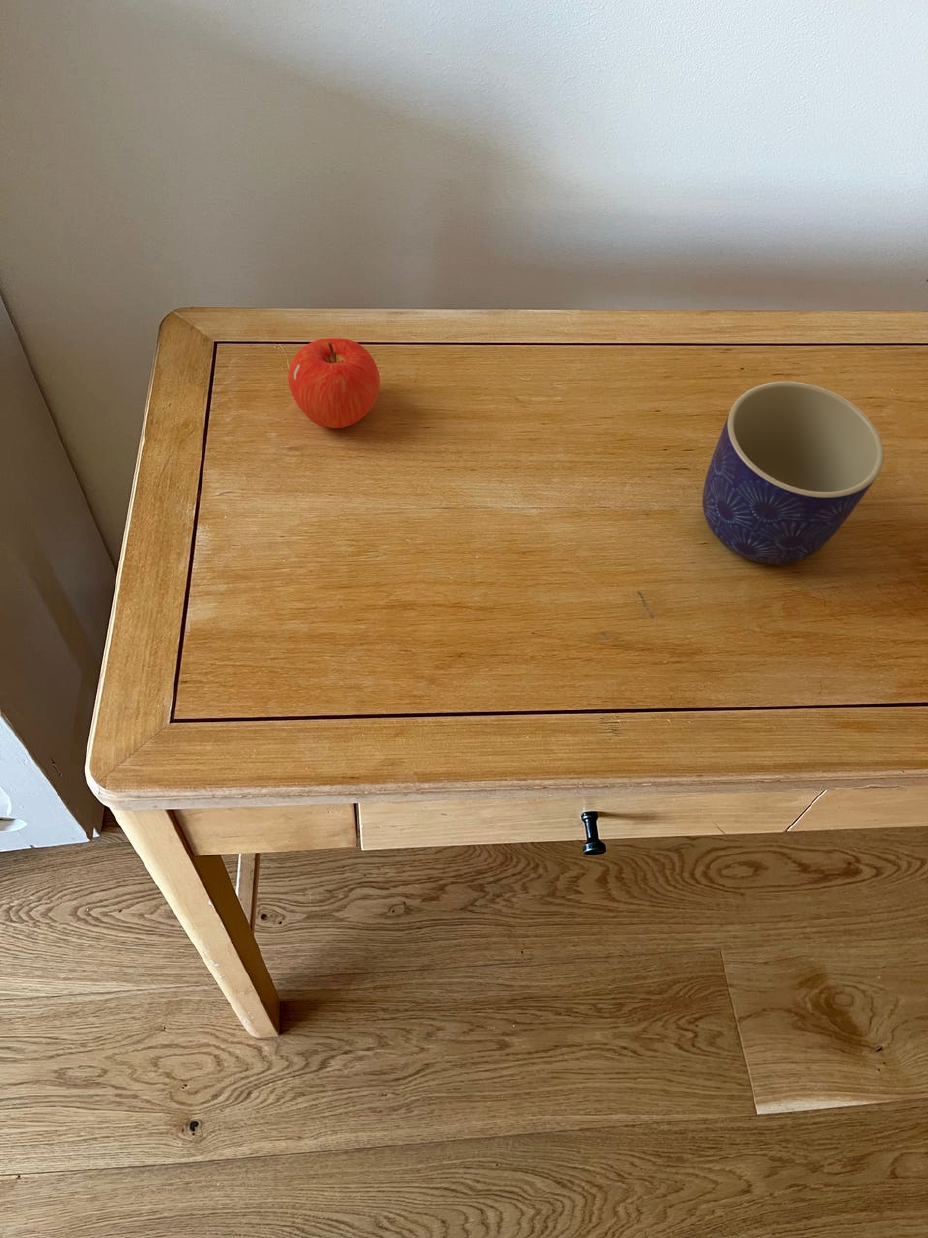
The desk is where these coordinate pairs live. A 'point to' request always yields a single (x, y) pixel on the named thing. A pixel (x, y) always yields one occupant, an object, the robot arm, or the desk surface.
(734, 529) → the planter
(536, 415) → the desk surface
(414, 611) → the desk surface
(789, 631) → the desk surface
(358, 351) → the apple
